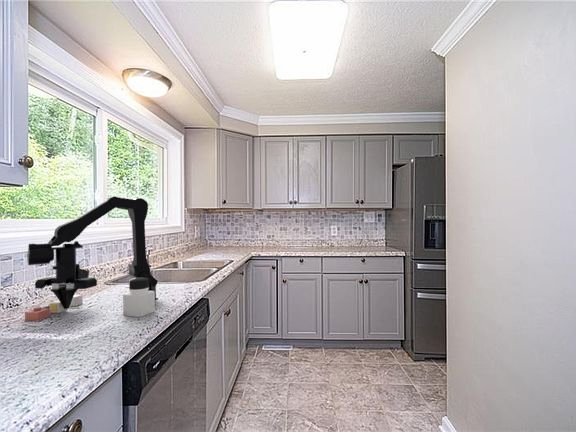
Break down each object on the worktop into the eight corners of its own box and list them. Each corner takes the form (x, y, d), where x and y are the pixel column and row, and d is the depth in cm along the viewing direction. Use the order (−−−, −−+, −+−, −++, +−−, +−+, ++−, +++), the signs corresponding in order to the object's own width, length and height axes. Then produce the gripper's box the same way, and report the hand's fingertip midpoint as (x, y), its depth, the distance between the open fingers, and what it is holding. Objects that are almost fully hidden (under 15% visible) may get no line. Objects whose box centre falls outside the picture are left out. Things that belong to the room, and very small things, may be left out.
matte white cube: (67, 309, 117) (67, 300, 117) (58, 312, 113) (58, 303, 113) (58, 309, 117) (57, 300, 117) (48, 312, 113) (48, 303, 113)
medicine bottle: (155, 311, 117) (154, 276, 117) (140, 317, 111) (139, 280, 111) (138, 310, 120) (138, 275, 120) (122, 315, 113) (122, 279, 113)
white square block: (82, 303, 125) (82, 295, 125) (75, 306, 121) (75, 297, 121) (73, 303, 125) (73, 294, 125) (66, 306, 122) (66, 297, 122)
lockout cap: (50, 321, 109) (49, 306, 109) (38, 325, 105) (37, 309, 105) (37, 320, 110) (37, 305, 110) (25, 325, 105) (24, 309, 105)
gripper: (107, 259, 121) (108, 303, 121) (60, 259, 124) (60, 302, 124) (84, 263, 110) (85, 311, 110) (33, 263, 113) (34, 310, 113)
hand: (66, 308), depth 115 cm, fingers closed
